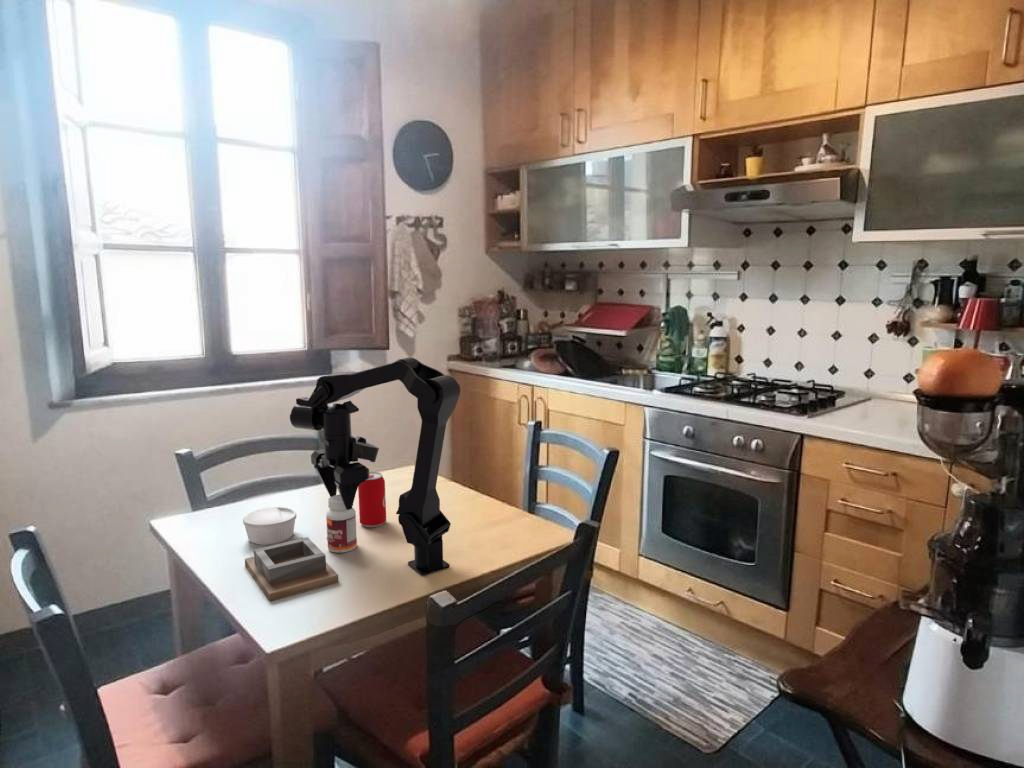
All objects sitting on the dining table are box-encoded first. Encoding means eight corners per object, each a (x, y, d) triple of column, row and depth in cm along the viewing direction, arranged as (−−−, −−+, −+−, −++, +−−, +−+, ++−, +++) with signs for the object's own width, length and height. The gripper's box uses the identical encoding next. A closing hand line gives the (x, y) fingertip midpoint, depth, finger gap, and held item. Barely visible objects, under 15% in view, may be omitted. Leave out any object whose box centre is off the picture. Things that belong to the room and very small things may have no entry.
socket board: (338, 582, 125) (337, 560, 125) (269, 601, 118) (268, 578, 117) (308, 550, 140) (307, 530, 139) (245, 565, 133) (243, 544, 132)
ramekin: (307, 534, 149) (306, 512, 148) (267, 551, 140) (266, 528, 139) (274, 524, 155) (273, 503, 154) (234, 541, 145) (232, 518, 144)
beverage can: (389, 519, 158) (388, 471, 155) (382, 529, 151) (380, 479, 149) (364, 518, 158) (362, 471, 156) (356, 528, 152) (353, 479, 150)
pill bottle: (322, 551, 139) (319, 501, 138) (338, 540, 145) (336, 491, 143) (346, 555, 137) (344, 504, 135) (362, 544, 143) (360, 495, 141)
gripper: (391, 435, 134) (394, 507, 137) (356, 419, 149) (359, 484, 152) (339, 443, 128) (343, 519, 130) (308, 426, 143) (312, 494, 145)
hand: (340, 503), depth 140 cm, fingers open, 9 cm apart
